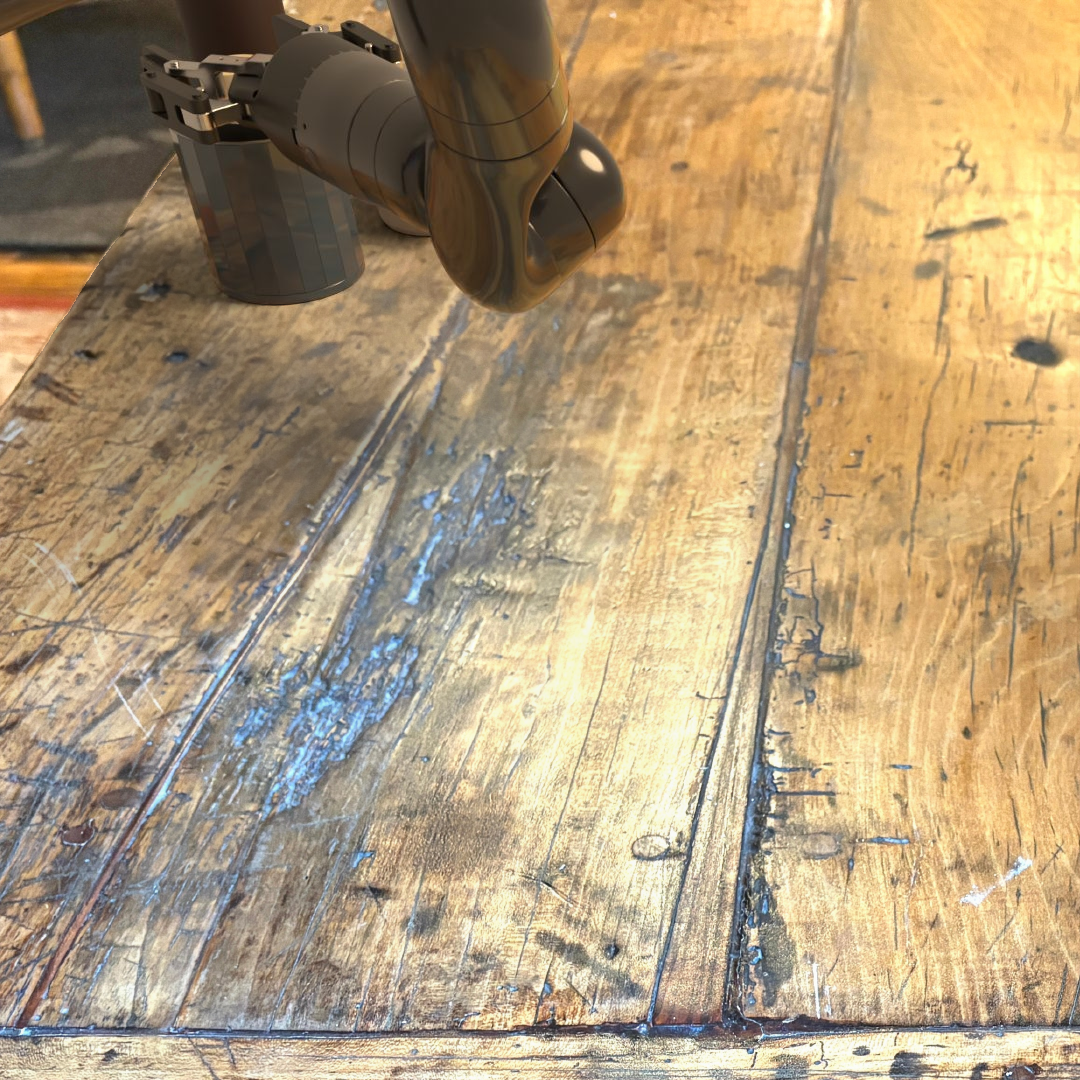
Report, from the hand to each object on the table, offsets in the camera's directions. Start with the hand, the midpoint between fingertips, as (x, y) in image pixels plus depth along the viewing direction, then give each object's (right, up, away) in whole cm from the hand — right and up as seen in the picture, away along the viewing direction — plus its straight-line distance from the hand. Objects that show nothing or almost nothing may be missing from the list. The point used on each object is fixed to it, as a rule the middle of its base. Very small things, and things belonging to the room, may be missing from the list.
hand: (216, 47), depth 111 cm
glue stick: (+1, -10, +8) cm, 13 cm away
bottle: (-4, +1, +19) cm, 20 cm away
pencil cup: (+1, -10, +9) cm, 14 cm away
